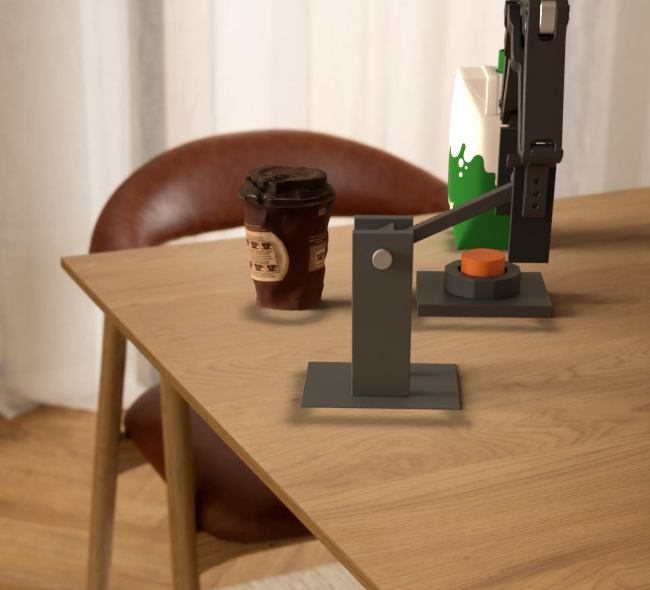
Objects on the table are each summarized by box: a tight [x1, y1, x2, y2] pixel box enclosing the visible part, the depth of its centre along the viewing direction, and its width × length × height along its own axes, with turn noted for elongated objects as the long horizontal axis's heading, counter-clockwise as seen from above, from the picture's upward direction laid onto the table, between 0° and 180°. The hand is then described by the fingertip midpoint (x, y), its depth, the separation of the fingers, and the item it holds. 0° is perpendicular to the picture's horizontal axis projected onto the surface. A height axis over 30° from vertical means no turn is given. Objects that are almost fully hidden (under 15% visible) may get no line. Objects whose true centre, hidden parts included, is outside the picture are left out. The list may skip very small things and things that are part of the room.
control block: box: [415, 259, 554, 319], centre depth 110 cm, size 12×10×4 cm
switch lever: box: [377, 173, 513, 244], centre depth 86 cm, size 13×5×2 cm, turn 87°
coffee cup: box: [237, 164, 337, 312], centre depth 108 cm, size 9×8×13 cm
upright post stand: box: [299, 214, 461, 411], centre depth 90 cm, size 12×9×14 cm
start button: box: [460, 248, 506, 277], centre depth 109 cm, size 4×4×2 cm
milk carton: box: [447, 48, 511, 251], centre depth 126 cm, size 9×9×20 cm
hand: (519, 236), depth 86 cm, fingers open, 12 cm apart
